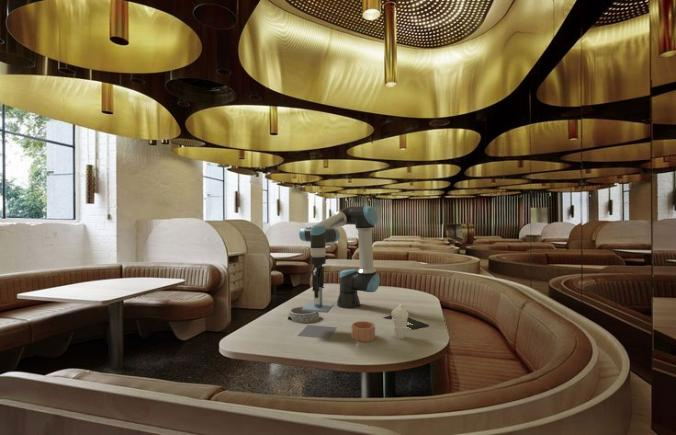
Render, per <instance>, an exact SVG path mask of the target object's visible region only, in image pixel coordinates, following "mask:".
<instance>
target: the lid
mask: <svg viewBox="0 0 676 435" xmlns="http://www.w3.org/2000/svg"><path fill="white" fill-rule="evenodd" d="M319 291H320V304H314V301H309V302H308V303H307V304H305V305H304V306H302V307H303V308H302V311H309V312H318V313H326V314H327V313H329V312H330V311H331V309H333V307H334V306H335V303H334V302H323V288H322V287H319Z"/></svg>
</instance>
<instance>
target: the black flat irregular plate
mask: <svg viewBox="0 0 676 435" xmlns="http://www.w3.org/2000/svg"><path fill="white" fill-rule="evenodd" d="M382 319H386V320H392V316H391V314H390V315H388V316H384V317H383V318H382ZM407 322H409V323H411V324H413V325H411V324H409V325H406V326H407V327H409V328H411V329H410V330H411V331H413V330H420V328H421V329H423V328H427V327H429V326H430V324H427V323H425V322H422V321H420V320H417V319H414V318H412V317H409V316H408V318H407ZM409 328H408V329H409Z"/></svg>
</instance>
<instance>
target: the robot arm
mask: <svg viewBox="0 0 676 435" xmlns="http://www.w3.org/2000/svg"><path fill="white" fill-rule="evenodd" d="M378 218H379V217H378V213H377V210H376V208H375V207H373V206H370V205H359V206H355V205H354V206H348V207H347V206H346V207H344V208H342V209H340V210H338V211H336V212H335V213H334V214H333V215H332V216H329V217H328V218H325V219H324V220H321V221H320V222H318V223H316V224H313V225H311V226H309V227H302V228H300V231H299V233H298V235H299V239H300V241H302V242H307V243H308V242H310V248H309V251H310V265H313V268H312V269H313V270H312V271H311V275H312V276H311V277H312V278H311V280H312V289H311V292H313V302H314V304H320V291H319V287H322V289H324V288H325V285H324V281H325V280H324V276H325V273H324V272H325V266H323V265H325V264H326V263H327V262H326V260H327V259H326V254H327V253H326V252H327V250H326V249H327V248H326V244H328V243H329V244H330V243H335V242H338V241H339V240H340V238H341V236H340V234H341V233H340V231H339V230H338V229H337V228H339V227H344V226H345V225H354V226H355V229H356V230H357V233H358V234H357V235H358V256H359V258H358V259H359V267H358V269H356V268H352V269H343V270H341V271H339V294H338V296H337V297H338V298H337V301H336V306H337V307H339V308H343V309H353V308H354V309H355V308H358V307H360V306H361V300H360V296H359V294H358V292H364V293H365V292H367V293H375V292H377V290H378V288H379V286H380V282H381V277H380V274H378V273H377V269H375V268H374V252H373V248H374V247H373V230H374V229H375V225H377V223H378Z"/></svg>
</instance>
